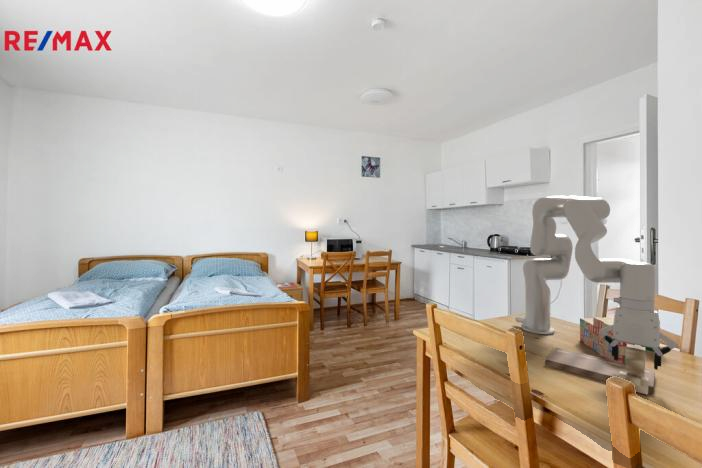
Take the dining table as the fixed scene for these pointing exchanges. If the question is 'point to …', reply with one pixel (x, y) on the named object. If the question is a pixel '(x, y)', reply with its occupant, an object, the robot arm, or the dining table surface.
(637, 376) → the beige block
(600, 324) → the stack of blocks
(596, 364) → the board
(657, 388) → the dining table surface
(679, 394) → the dining table surface
